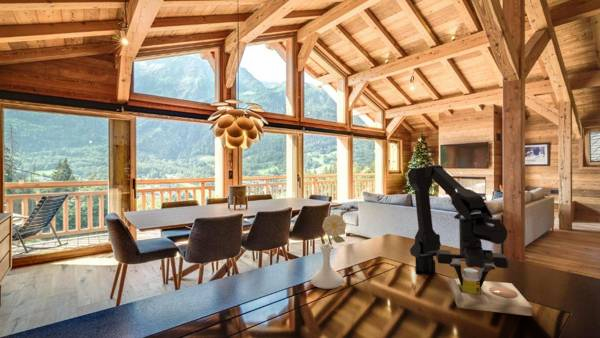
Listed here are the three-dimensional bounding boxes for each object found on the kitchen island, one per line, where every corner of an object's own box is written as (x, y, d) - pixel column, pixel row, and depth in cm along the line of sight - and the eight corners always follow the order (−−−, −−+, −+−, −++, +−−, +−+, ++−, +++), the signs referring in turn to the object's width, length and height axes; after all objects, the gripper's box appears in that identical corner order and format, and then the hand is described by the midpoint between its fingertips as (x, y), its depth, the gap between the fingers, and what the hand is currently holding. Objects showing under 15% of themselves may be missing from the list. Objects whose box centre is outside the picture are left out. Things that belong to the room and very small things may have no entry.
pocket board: (457, 307, 87) (457, 298, 87) (449, 285, 102) (449, 277, 102) (532, 316, 81) (532, 306, 81) (511, 291, 96) (511, 283, 96)
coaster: (492, 296, 88) (492, 295, 88) (486, 286, 94) (486, 285, 94) (521, 298, 85) (521, 297, 85) (512, 288, 92) (512, 287, 92)
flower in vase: (306, 289, 102) (304, 216, 101) (316, 277, 112) (314, 210, 112) (344, 294, 97) (342, 217, 97) (351, 281, 108) (349, 211, 107)
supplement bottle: (479, 302, 89) (479, 274, 89) (461, 298, 92) (461, 271, 92) (480, 295, 93) (479, 269, 93) (462, 292, 96) (462, 266, 96)
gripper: (439, 240, 87) (440, 293, 88) (515, 244, 81) (516, 301, 82) (435, 231, 98) (436, 279, 98) (502, 234, 92) (503, 285, 92)
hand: (470, 286), depth 93 cm, fingers closed on supplement bottle, 5 cm apart
